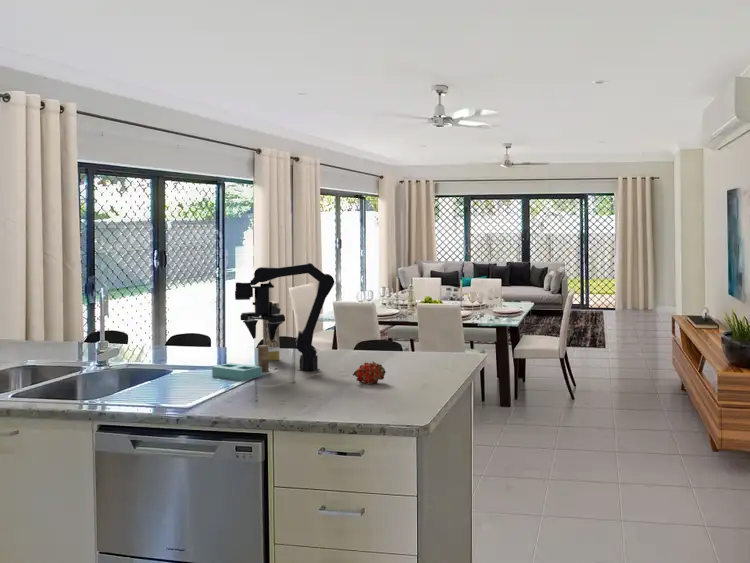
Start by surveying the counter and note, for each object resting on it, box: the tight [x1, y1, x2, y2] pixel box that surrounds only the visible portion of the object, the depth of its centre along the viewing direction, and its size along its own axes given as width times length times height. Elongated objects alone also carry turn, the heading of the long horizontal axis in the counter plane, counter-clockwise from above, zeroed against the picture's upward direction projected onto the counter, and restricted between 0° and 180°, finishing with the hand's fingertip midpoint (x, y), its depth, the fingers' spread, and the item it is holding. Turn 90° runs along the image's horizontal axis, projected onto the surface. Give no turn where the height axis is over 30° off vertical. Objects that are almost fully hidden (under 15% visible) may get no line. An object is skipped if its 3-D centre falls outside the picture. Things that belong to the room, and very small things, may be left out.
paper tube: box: [262, 300, 280, 362], centre depth 321 cm, size 7×7×25 cm
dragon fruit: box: [352, 361, 387, 385], centre depth 270 cm, size 8×8×12 cm
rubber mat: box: [262, 368, 282, 376], centre depth 292 cm, size 10×10×1 cm
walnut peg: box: [257, 344, 270, 372], centre depth 292 cm, size 4×4×10 cm
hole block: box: [211, 362, 263, 381], centre depth 283 cm, size 16×10×4 cm, turn 57°
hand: (262, 339), depth 292 cm, fingers open, 9 cm apart
